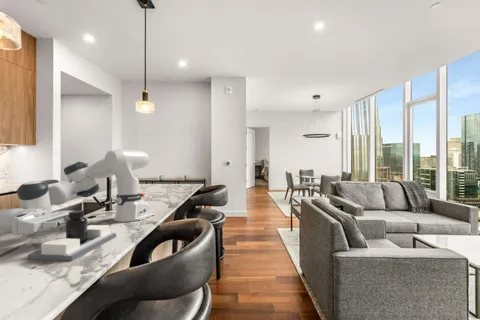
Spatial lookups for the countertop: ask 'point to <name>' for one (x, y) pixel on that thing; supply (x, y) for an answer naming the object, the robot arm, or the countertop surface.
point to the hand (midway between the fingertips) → (68, 221)
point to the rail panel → (58, 257)
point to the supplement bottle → (77, 226)
